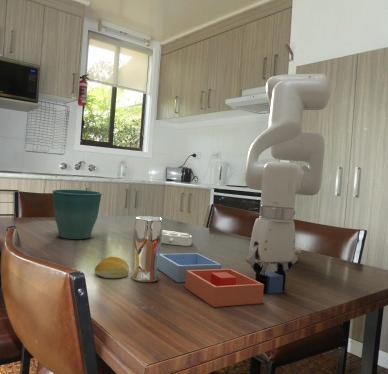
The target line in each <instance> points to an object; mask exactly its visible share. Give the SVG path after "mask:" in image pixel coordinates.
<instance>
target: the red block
mask: <svg viewBox="0 0 388 374" xmlns="http://www.w3.org/2000/svg"><path fill="white" fill-rule="evenodd" d="M210 283H211V284H213V285H215V286H229V285H236V277H235V276H233V275H231V274H229V273H227V272H219V273H211V282H210Z"/></svg>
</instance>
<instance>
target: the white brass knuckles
mask: <svg viewBox="0 0 388 374" xmlns="http://www.w3.org/2000/svg"><path fill="white" fill-rule="evenodd" d="M192 243H193V236H192V235H191V234H190V232H178V231H174V230H173V231H172V230H166V229H165V230H164V229H162V242H161V244H164V245H165V244H166V245H171V246H183V247H189V246H192Z"/></svg>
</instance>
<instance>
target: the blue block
mask: <svg viewBox="0 0 388 374" xmlns="http://www.w3.org/2000/svg"><path fill="white" fill-rule="evenodd" d="M274 272H275V271H273V270H272V271H271V270H270V271H266V273H265V275H267V284H266V291H265V292H264V293H267V294H269V295H270V294H281V293H283V291H282V287H283V276H282V275H279V274H277V273H274Z"/></svg>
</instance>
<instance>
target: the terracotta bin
mask: <svg viewBox="0 0 388 374" xmlns="http://www.w3.org/2000/svg"><path fill="white" fill-rule="evenodd" d="M219 272H227V273H229V274H231V275H233V276H235V277H236V285H229V286H215V285H213V284H211V283H210V282H211V273H219ZM184 283H185V284H184V288H185V289H186V290H188V291H189V292H190V293H192V294H193V295H195V296H197V297H198V298H200V299H201V300H202V301H204V302H205V303H207V304H208V305H210V306H211V307H213V308H220V307H231V306H244V305H257V304H258V305H259V304H263V301H264V292H263V291H264V284H262V283H260V282H258V281H256V280H255V279H253V278H251V277H249V276H248V275H246V274H245V275H244V274H242V273H240V272H238V271H236V270H234V269H232V268H221V269H211V270H186V282H184Z"/></svg>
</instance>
